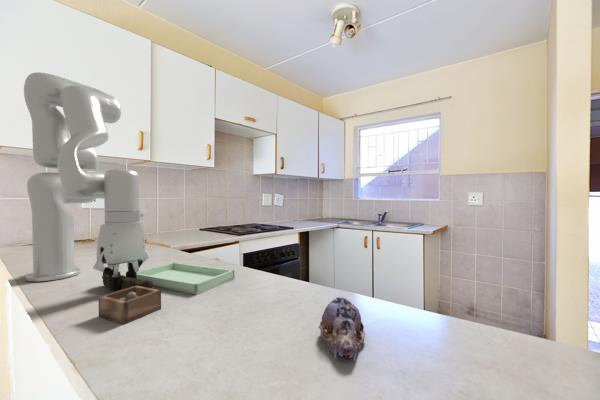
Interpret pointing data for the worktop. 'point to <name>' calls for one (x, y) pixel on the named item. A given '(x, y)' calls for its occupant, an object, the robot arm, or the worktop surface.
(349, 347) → the skull
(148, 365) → the worktop surface
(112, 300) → the gravel box
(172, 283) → the tray
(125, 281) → the dark brown tapered bar
